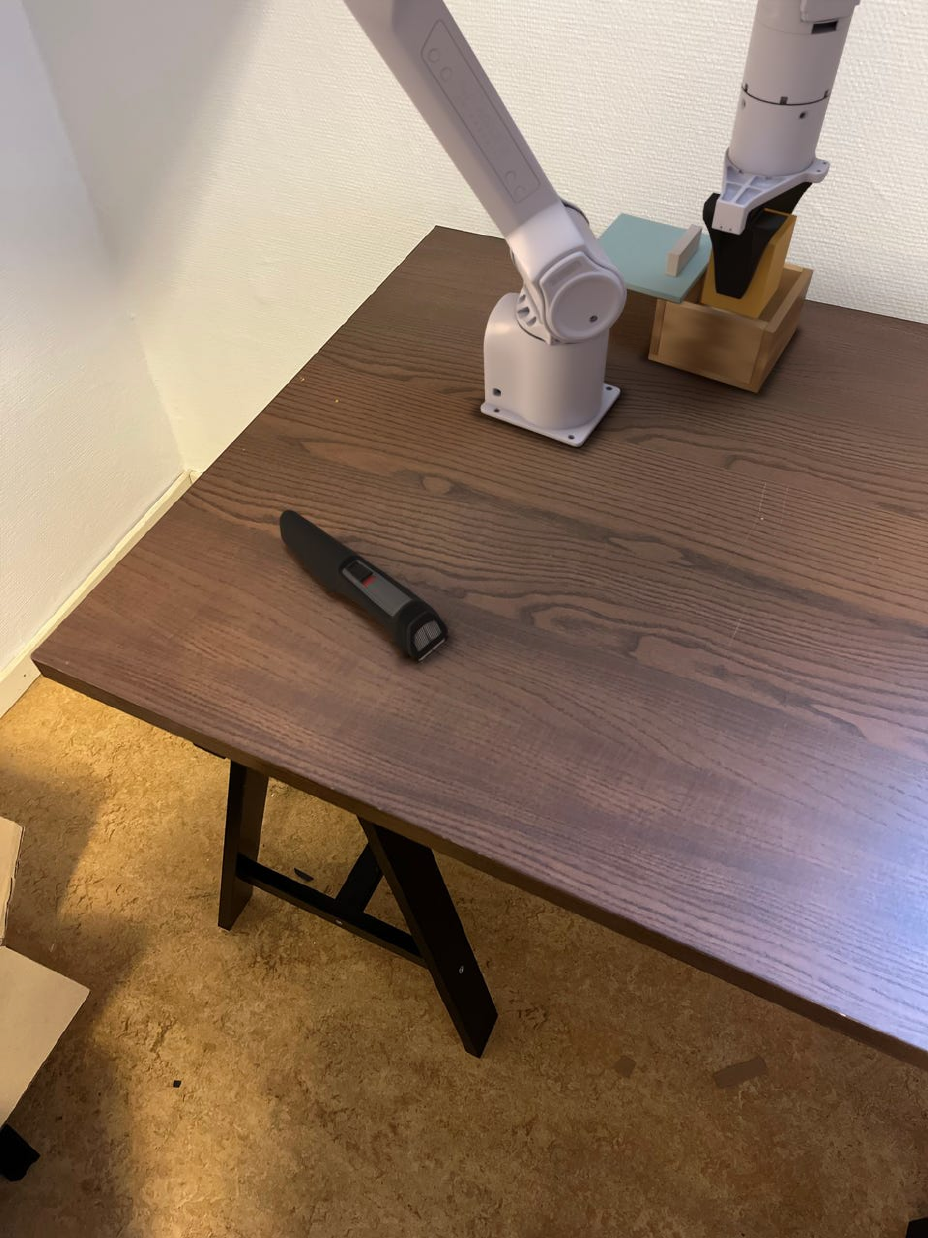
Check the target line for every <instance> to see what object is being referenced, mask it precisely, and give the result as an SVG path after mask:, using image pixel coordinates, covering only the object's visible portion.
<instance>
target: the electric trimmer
mask: <svg viewBox="0 0 928 1238" xmlns="http://www.w3.org/2000/svg"><path fill="white" fill-rule="evenodd" d="M278 523H279V531H280V538H281V540H282V541H283V544H285V545H286V546H287V548H288V550H290V552H292V554H294V556H295V557H296V558H297V559H298V560H299V561H300V562H301V563H302V565H303V566H304V567H305V568H306V569H307V570H308V571H309V573H311V574H312V575H313V577H314V578H316V580H317V581H318V582H319V583H320V584H321V585H322V586H323V587H324V588H325V589H326V590H328V591H329V592H330V593H333V594H335V593H336V594H343V595H345V596H347V598H349V599H350V600H352V601H353V602H354V603H355V604H356V605H358V606H359V607H360V608H361V609H363V611H365V612H366V613H368V614H369V615H370V616H371V617H372V618H373V619H375V620H376V621H377V622H378V623H379V624H380V625H381V626H382V627H384V628H385V630H387V631H388V633H389V634H390V635H391V637H392V638H391V639H392V640H393V642H394V644H395V646H396V647H397V649H398V650H399V651H400V652H401V653H402V654H403V656H404V657H406V658H410V659H411V658H413V659H414V660H416V661H419V662H420V661H422V660H424V659H425V658H426V656H428V655H429V654H431V653H432V652H433V651H434V650H436V649H437V648H438V647H440V645H442V644H443V643H444V642H445V639H446V638H447V636H448V634H449V632H448V631H449V630H448V627H447V625H446V622H444V621H443V619H442V618H441V617H440V615H439V613H438V612H437V611H436V609H434V607H433V606H431V604H429V603H428V602H426V601H425V600H424V599H422V598H421V597H420V596H418V595H417V593H416V594H415V593H414V592H413V591H411V590H410V589H408V587H406V586H404V585H403V584H402V583H400V582H399V581H398V580H395V579H394V578H393V577H392V576H390V575H388V574H387V573H386V572H384V571H383V570H382V569H381V568H378V567H377V566H376V565H375V564H373V563H371V562H369V560H366V559H365V558H364V557H363V556H361V555H360V554H358V553H357V552H355V551H354V550H352V549H351V548H350V547H349V546H346V545H345V544H344V543H343V542H341V541H339V539H336V538H335V537H333V536H332V535H331V534H329V533H327V532H326V531H325V530H323V529H322V528H320V527H319V526H317V525H316V524H315V523H313V522H311V520H309V519H307V518H306V517H304V516H302V515H301V514H300V513H298V512H297V511H295V510H293V509H285V510H283V512H281V514H280V516H279V522H278Z"/></svg>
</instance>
